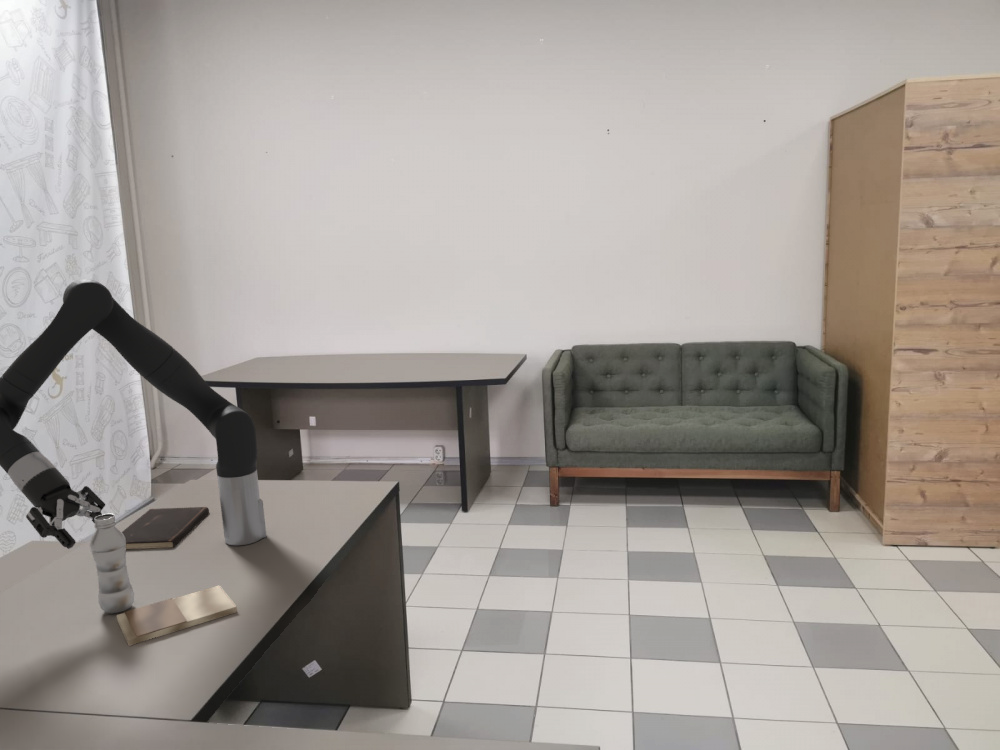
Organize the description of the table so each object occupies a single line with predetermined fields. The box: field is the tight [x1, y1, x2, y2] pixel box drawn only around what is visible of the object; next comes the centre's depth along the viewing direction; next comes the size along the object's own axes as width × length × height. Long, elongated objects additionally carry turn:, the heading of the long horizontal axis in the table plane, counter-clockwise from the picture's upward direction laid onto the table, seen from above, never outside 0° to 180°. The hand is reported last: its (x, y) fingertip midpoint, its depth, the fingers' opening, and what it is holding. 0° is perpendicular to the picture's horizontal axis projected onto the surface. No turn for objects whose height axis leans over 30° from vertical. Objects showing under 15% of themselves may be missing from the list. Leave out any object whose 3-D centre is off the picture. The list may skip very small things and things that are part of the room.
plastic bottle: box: [89, 513, 135, 614], centre depth 157 cm, size 6×7×20 cm
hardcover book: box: [121, 506, 210, 550], centre depth 201 cm, size 16×23×2 cm
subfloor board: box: [116, 585, 238, 647], centre depth 155 cm, size 20×12×1 cm, turn 125°
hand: (90, 537), depth 158 cm, fingers open, 8 cm apart
